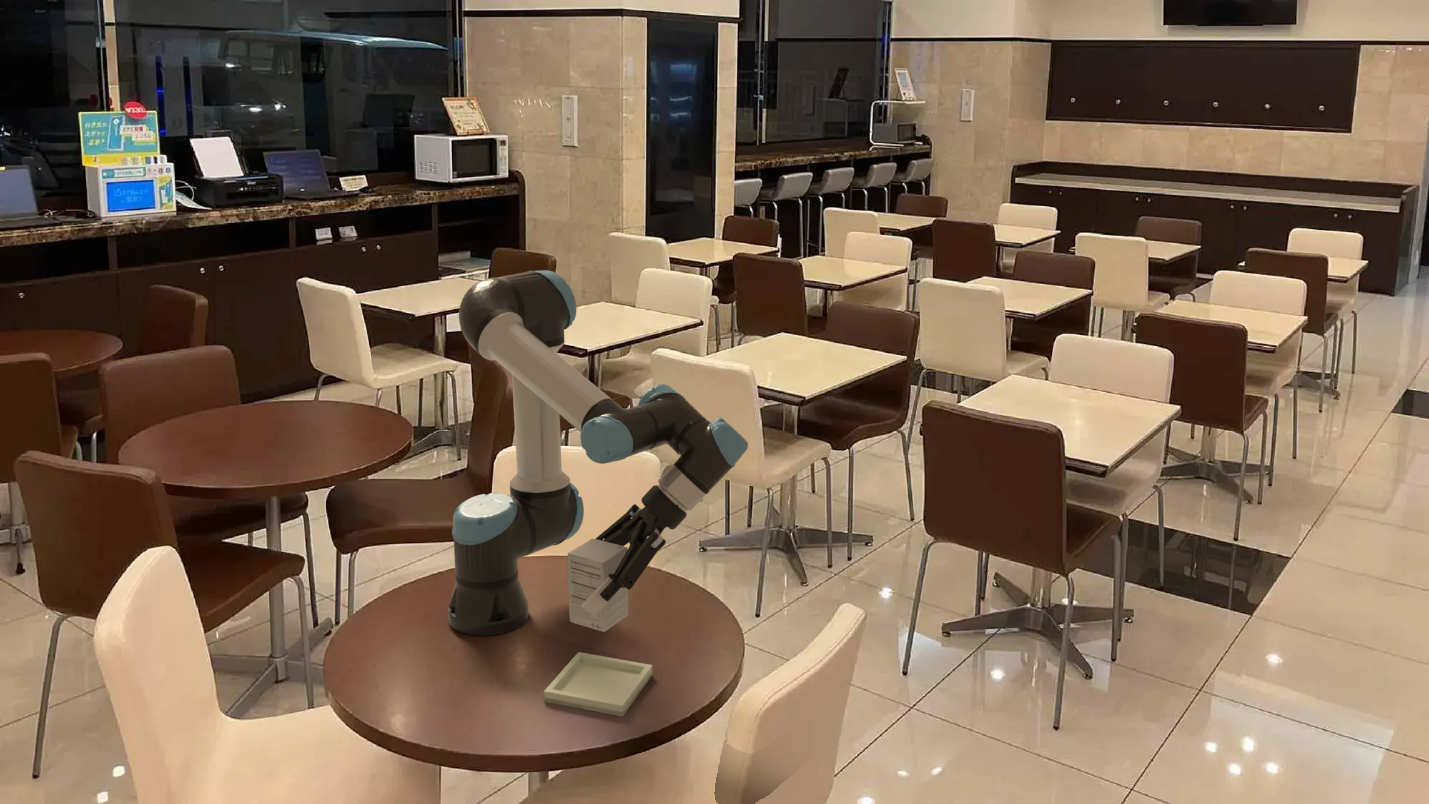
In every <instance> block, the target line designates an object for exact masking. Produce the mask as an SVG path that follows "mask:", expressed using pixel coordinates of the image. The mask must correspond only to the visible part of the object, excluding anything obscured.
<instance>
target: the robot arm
mask: <svg viewBox="0 0 1429 804" xmlns="http://www.w3.org/2000/svg"><path fill="white" fill-rule="evenodd" d="M576 317H577V302H576V298H575V295H574V291H573V290H572V288H571V286H570V285H569V283H567V282H566V280H565V278H564V277H562V276H561V275H560V274H558V273H557V272H555V271H552V270H528V271H524V272H518V273H514V274H513V273H512V274H508V275H502V276H499V277H490V278H485V279H483V280H480V281H478V282H476V283H475V284H473V285H472V286H471V287H470V288H469V289H468V290H467V291H466V292H465V294H464V295H463V297H462V299H461V302H460V305H459V310H458V321H459V322H458V323H459V326H460V330H461V332H462V334H463V335H462V336H463V337H464V338H465V340H466V342H467V343H468V344H469V345H470V347H472V349H473V350H474V351H476V352H477V354H479V355H480V356H481V357H483V358H484V359H485V360H486V361H487V360H488V361H496V362H497V363H498V364H500V365H501V366H502V367H503V368H504V369H506V370H507V371H508V372H509V373H510V374H511V379H512V380H511V382H512V383H511V384H512V397H513V399H512V400H513V401H512V402H513V414H514V415H513V419H514V436H515V437H514V438H515V440H514V441H515V456H516V457H515V459H516V474H515V475H514V476H513V477H512V478H511V479H510V481H509V492H510V493H509V495H508V494H505V493H502V492H501V493H500V492H490V493H488V494H485V493H482V494H478V495H475V496H472V497H469V498H468V499H466V500H464V501H462V502H461V503H460V504H459V505H458V506H457V508H456V509H455V511H454V514H453V516H452V519H453V521H452V529H451V531H452V532H451V534H452V537H453V553H454V555H453V556H454V572H455V584H454V586H453V590H452V594H451V597H450V601H449V604H448V607H447V620H448V624H449V626H450V627H451V628H452V629H454V630H456V631H457V632H459V633H462V634H466V635H470V636H495V635H500V634H505V633H508V632H511V631H513V630H516V629H518V628H520V627H521V626H522V625H524V624H525V623H526V622H527V620H528V619H529V615H530V614H529V613H530V612H529V602H528V599H527V597H526V595H525V592H524V588H523V586H522V583H521V582H520V578H519V565H518V564H519V559H521V558H524V557H527V556H529V555H532V554H534V553H537V552H540V551H542V550H544V549H547V548H549V547H552V546H558V545H560V544H562V543H563V542H564V541H566V540H569V539H571V538H572V537H574V536H575V535H576V534H577V533H578V532H579V530H580V528H581V527H582V524H583V521H584V517H585V515H584V514H585V510H584V509H585V508H584V501H583V497H582V496H579V494H580V491H579V489H578V488H577V487H576V486H575V484H573V483H571V478H570V477H569V476H568V475H567V474H566V473H565V472H564V471H563V468H562V467H563V466H562V443H561V423H560V421H561V420H560V419H561V418H560V416H561V417H562V418H563V419H564V420H566V421H567V422H568V423H569V424H570V425H571V426H573V427H574V428H575V429H576V430H577V431H578V432H580V444H581V447H582V448H581V449H583V450H584V451H585V454H586V455H585V456H587V457H588V459H590V460H591V461H592V462H594V463H596V464H602V465H603V464H611V463H613V462H619V461H623V460H625V459H626V458H628V457H632V456H634V455H637V454H641V453H643V452H646V451H649V450H653V449H656V448H658V447H661V446H664V445H668V446H669V447H670V448H671V449H672V450H673V451H675V453H676V454H677V455H678V456H679V457H678V459H676V461H674V463H672V465H671V466H670V467H669V468H668V469H667V470H666V471H665V472H663V474H662V476H660V477H659V478H658V480H657V482H658V484H655V485H653V486H651V488H650V489H649V490H648V491H647V492H646V493H645V494H644V495H643V496H642V497H641V503H642V504H643V508H641V507H640V506H638V505H637V504H636V503H634V504H633V505H631V506H630V508H629V509H628V510H627V511H626V512H625V513H624V514H623V515H622V516H621V517H620V518H618V519H617V520H615V522H614V523H612V524H611V525H610V526H608V528H606V529H605V530H604V531H602V532H601V534H599V535H598V536H597V537H595V539H597V540H601V541H605V542H609V543H613V544H617V545H621V546H624V547H625V546H626V545H627V544H629V546H628V547H627V551H626V553H625V555H624V557H623V559H622V560H621V562H620V564H619V566H618V567H617V569H616V571H615V573H614V574H609V576H608V577H607V578H606V579H605V581H604V582H603V583H602V584H601V585H600V586H599V587H598V588H597V589H596V590H595V591H594V592H593V593H592V595H591V596H590V597H589V598H588V599H587V600H586V601H585V602H584V603H583V604H582V605H581V606H582V607H583V608H584V609H585V610H586V611H588V612H589V613H590V614H592V615H593V616H595V615H596V614H597V613H598V612H599V611H600V610H601V609H602V608H603V607H604V605H605V604H606V603H607V602H608V601H609V600H610V599H611V598H612V597H613V596H614V595H615V594H616V593H617V591H618V590H619V589H620V588H627V589H628V591H629V590H631V589H632V588H633V586H634V585H635V584H636V582H637V581H638V580H639V578H640V577H641V576H642V574H643V573H644V571H645V570H646V568H647V567H648V566H649V564H650V563H651V561H652V560H653V558H654V557H655V556H656V554H657V553H658V552H659V551H660V550H661V549H662V548H663V547H665V544H667V540H665V539H664V538H663V537H662V536H661V535H662V533H663V531H664V530H665V528H668V529H670V530H675V529H676V528H677V527H678V526H680V524H681V523H682V522H683V521H684V520H685V519H686V518H687V511H689V512H691V511H693V509H694V508H695V507H697V505H699V504H700V503H702V502H703V501H704V498H705V496H707V495H708V493H710V491H711V490H712V489H713V488H714V487H715V486H716V485H717V484H718V483H719V482H720V481H721V479H723V478H724V477H725V476H726V475H727V474H728V473H729V471H731V469H733V468H734V467H735V466H736V464H738V461H739V460H740V459H741V458H742V457H743V455H745V453H746V452H747V450H748V448H749V444H748V443H749V442H748V441H747V440H746V439H745V438H744V437H743V436H742V434H740V433H739V432H738V431H737V430H736V429H735V428H734V427H733V426H732V425H731V424H729V423H728V422H727V421H726V420H725V419H724V418H723V417H720V416H718V417H716V418H715V419H714V420H712V421H710V420H708V419H707V418H706V417H705V416H703V415H702V414H701V413H700V412H699V411H698V410H697V409H696V408H695V407H694V406H693V405H692V404H691V403H690V402H689V401H688V400H687V399H686V397H684V395H682V394H681V393H679V392H677V391H676V390H675V389H674V388H673V387H671V386H670V385H668V384H666V383H660V384H656V385H654V386H653V387H652V388H650V389H648V390H646V391H645V392H644V393H643V395H642V396H641V398H640V399H639V401H638V403H637V405H636V406H633V407H628V408H623V407H622V406H621V405H620V404H619V403H617V402H616V401H615V400H613V399H612V398H611V396H609V395H607V394H606V393H605V392H604V391H602V389H600V388H599V387H598V386H596V385H595V384H594V383H593V382H592V381H590V380H589V379H588V378H587V377H586V376H584V375H583V374H582V373H581V372H579V371H578V370H577V369H575V367H573V366H572V365H571V364H570V363H569V362H567V361H566V360H565V359H563V358H562V357H561V356H560V355H559V354H558V352H559V350H560V349H561V348H562V347H563V346H564V345H565V330H567V329H568V328H569V327H571V326H572V325H573V323H574V321H575V320H576Z"/></svg>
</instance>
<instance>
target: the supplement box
mask: <svg viewBox="0 0 1429 804" xmlns="http://www.w3.org/2000/svg"><path fill="white" fill-rule="evenodd" d="M627 550H628V547H627V546H625V545H624V546H621V545H617V544H613V543H609V542H605V541H601V540H597V539H596V538H591V539H589V540H587V541H586V542H584V543H583V544H581V545H579V546H577V547H576V548H574V549H573V550H571V551H569V552H568V553H567V572H568V573H567V574H568V575H567V577H568V578H567V579H568V582H567V583H568V609H569V611H568V612H569V622H571V623H572V624H576V625H579V626H582V627H586V628H589V629H593V630H596V631H599V632H603V633H606V632H607V631H608V630H609V629H611V628H612V627H613V626H615V625H616V624H618V623H619V622H621V621H622V620H624V619H625V618H626V617H628V616H629V615H630V614H629V590H628V589H627V588H620V589H619V590H618V591H617V593H616V594H615V595H614V596H613V597H612V598H611V599H610V600H609V601H608V602H607V603H606V604H605V605H604V607H603V608H602V609H601V610H600V611H599V612H598V613H597V614H596V615H595V616H593V615H592V614H590V613H589V612H588V611H586V610H585V609H584V608H583V607H582V606H581V605H582V604H583V603H584V602H585V601H586V600H587V599H588V598H589V597H590V596H591V595H592V593H593V592H594V591H595V590H596V589H597V588H598V587H599V586H600V585H601V584H602V583H603V582H604V581H605V579H606V578H607V577H608V576H609V574H614V573H615V571H616V569H617V567H618V566H619V564H620V562H621V560H622V559H623V557H624V555H625V553H626V551H627Z"/></svg>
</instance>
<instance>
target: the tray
mask: <svg viewBox="0 0 1429 804" xmlns="http://www.w3.org/2000/svg"><path fill="white" fill-rule="evenodd" d="M652 676H653V664H647V663H642V662H637V661H633V660H632V661H631V660H626V659H619V658H615V657H609V656H605V655H604V656H603V655H598V654H592V653H587V652H581V651H578V652H577V653H575V655H574V657H572V659H571V660H570V661H569V662H568V663H567V664H566V665H565V666H564V668H563V669H562V670H561V671H560V673H558V675H557V676H556V677H555V678H554V679H553V680H552V681H551V683H550V684H549V685H548V686H547V687H546V688H545V689H544V691H543V700H544V703H550V704H555V705H560V706H565V707H569V708H576V709H581V710H587V711H592V712H596V713H602V714H606V715H613V716H617V717H624V715H625V714H626V712H627V711H628V710H629V708H630V707H631V706H632V704H633V703H634V701H636V699H637V697H638V696H639V695H640V693H641V692H642V690H643V689H644V688H645V686H646V685H647V684H648V683H649V681H650V679H652Z"/></svg>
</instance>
